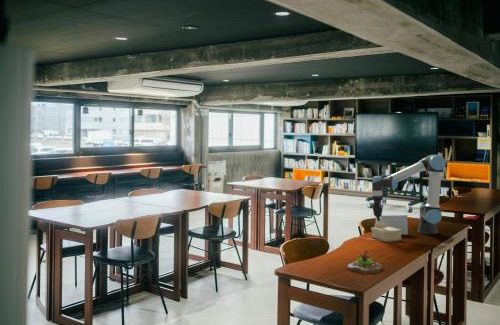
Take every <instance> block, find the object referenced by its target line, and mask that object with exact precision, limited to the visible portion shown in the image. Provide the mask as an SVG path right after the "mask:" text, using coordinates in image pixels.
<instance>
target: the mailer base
mask: <svg viewBox="0 0 500 325" xmlns="http://www.w3.org/2000/svg"><path fill="white" fill-rule="evenodd" d="M371 237H372V238H373V239H375V240H376V239H377V240H379V241H382V242H386V243H388V242H397V241H398V242H399V241H401V240H402V235H401V231H397V232H386V233H385V234H381V233H378V232H375V231H372V230H371Z"/></svg>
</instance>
